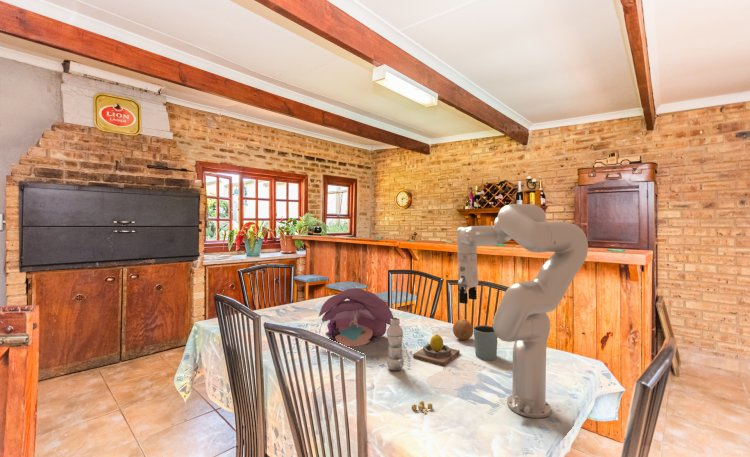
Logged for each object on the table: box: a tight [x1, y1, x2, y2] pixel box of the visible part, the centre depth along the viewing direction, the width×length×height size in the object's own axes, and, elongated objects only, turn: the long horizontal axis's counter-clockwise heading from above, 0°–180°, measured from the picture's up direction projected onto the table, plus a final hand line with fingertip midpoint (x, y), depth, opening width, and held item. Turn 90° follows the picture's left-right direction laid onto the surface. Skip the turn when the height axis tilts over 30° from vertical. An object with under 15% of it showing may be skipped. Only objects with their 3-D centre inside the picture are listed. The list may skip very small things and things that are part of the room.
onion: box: [452, 318, 474, 341], centre depth 171 cm, size 10×10×10 cm
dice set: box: [411, 400, 433, 414], centre depth 109 cm, size 5×5×2 cm
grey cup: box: [473, 325, 499, 361], centre depth 150 cm, size 10×10×12 cm
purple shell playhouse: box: [318, 287, 395, 347], centre depth 172 cm, size 35×24×28 cm
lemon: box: [429, 333, 444, 352], centre depth 151 cm, size 6×6×8 cm
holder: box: [412, 343, 461, 367], centre depth 151 cm, size 16×14×3 cm
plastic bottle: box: [386, 317, 404, 372], centre depth 137 cm, size 6×7×20 cm
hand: (468, 301), depth 139 cm, fingers open, 9 cm apart
